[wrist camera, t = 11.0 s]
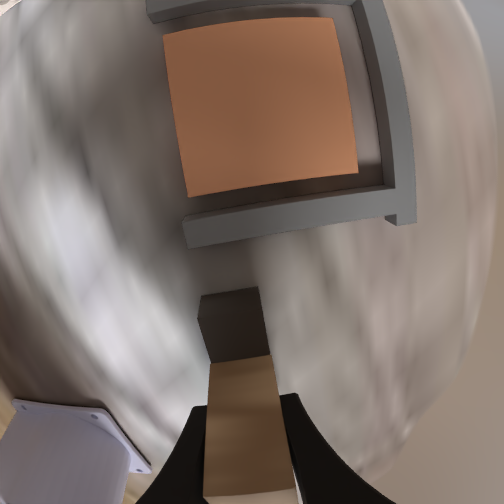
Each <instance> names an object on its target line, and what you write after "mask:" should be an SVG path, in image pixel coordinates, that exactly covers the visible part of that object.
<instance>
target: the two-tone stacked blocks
mask: <svg viewBox="0 0 504 504" xmlns="http://www.w3.org/2000/svg"><path fill="white" fill-rule="evenodd" d="M197 319H198V323H199V326H200V329H201V332H202V336H203V339H204V342H205V345H206V348H207V351H208V355H209V358H210V361H211V364H210V374H209V388H208V403H207V420H206V437H205V458H204V482H203V497H204V498H205V500H206V501H207V502H208V503H209V504H299V503H298V497H297V490H296V484H295V479H294V473H293V468H292V462H291V457H290V452H289V446H288V441H287V436H286V430H285V425H284V420H283V416H282V409H281V404H280V398H279V393H278V388H277V382H276V377H275V371H274V366H273V361H272V355H270V351H269V345H268V340H267V334H266V328H265V322H264V317H263V311H262V305H261V300H260V294H259V289H258V286H257V287H252V288H246V289H240V290H234V291H228V292H222V293H216V294H210V295H204V296H201V301H200V306H199V312H198V317H197Z"/></svg>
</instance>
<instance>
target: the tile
mask: <svg viewBox="0 0 504 504" xmlns="http://www.w3.org/2000/svg"><path fill="white" fill-rule="evenodd" d="M163 43H164V51H165V59H166V67H167V74H168V82H169V89H170V95H171V102H172V108H173V115H174V121H175V127H176V133H177V139H178V145H179V150H180V156H181V162H182V167H183V172H184V178H185V183H186V188H187V193H188V198H189V197H194V196H200V195H205V194H210V193H216V192H222V191H227V190H233V189H239V188H245V187H252V186H258V185H264V184H271V183H278V182H285V181H292V180H300V179H307V178H315V177H324V176H332V175H341V174H351V173H358V162H357V152H356V143H355V135H354V127H353V120H352V113H351V106H350V100H349V94H348V88H347V82H346V77H345V71H344V66H343V61H342V57H341V52H340V47H339V43H338V38H337V34H336V30H335V26H334V22H333V18H321V17H288V18H267V19H254V20H244V21H235V22H228V23H221V24H214V25H208V26H202V27H197V28H192V29H187V30H182V31H178V32H174V33H169V34H165V35H163Z"/></svg>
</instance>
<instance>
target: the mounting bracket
mask: <svg viewBox="0 0 504 504" xmlns="http://www.w3.org/2000/svg"><path fill="white" fill-rule="evenodd" d="M19 1H21V0H0V16H1V15H2V14H4V13H5V12H6V11H7V10H9V9H10V8H11V7H13V6H14V5H15V4H17V3H18V2H19Z"/></svg>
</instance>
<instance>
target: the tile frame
mask: <svg viewBox="0 0 504 504" xmlns="http://www.w3.org/2000/svg"><path fill="white" fill-rule="evenodd" d="M284 3H322V4H340V5H352V9H353V12H354V15H355V19H356V22H357V26H358V30H359V33H360V37H361V41H362V45H363V49H364V54H365V58H366V62H367V67H368V72H369V77H370V82H371V87H372V93H373V98H374V104H375V111H376V117H377V124H378V132H379V140H380V149H381V158H382V169H383V182H384V185H378V186H370V187H362V188H354V189H346V190H339V191H331V192H324V193H317V194H310V195H303V196H297V197H290V198H284V199H278V200H271V201H265V202H259V203H253V204H248V205H242V206H236V207H231V208H225V209H220V210H214V211H209V212H204V213H198V214H193V215H188V216H185V218H184V219H183V221H182V227H183V231H184V235H185V239H186V244H187V248H188V249H192V248H197V247H203V246H208V245H214V244H220V243H225V242H231V241H237V240H242V239H248V238H254V237H259V236H265V235H271V234H277V233H283V232H288V231H294V230H300V229H306V228H312V227H318V226H324V225H330V224H336V223H342V222H349V221H355V220H361V219H367V218H373V217H380V216H385V220H387V221H388V222H390V223H392V224H394V225H396V226H400V225H406V224H412V223H417V207H416V177H415V162H414V150H413V139H412V131H411V123H410V115H409V108H408V102H407V96H406V90H405V85H404V80H403V75H402V70H401V65H400V61H399V56H398V52H397V48H396V44H395V40H394V37H393V33H392V29H391V26H390V22H389V19H388V16H387V13H386V10H385V6H384V3H383V0H146V10H147V15H148V17H149V18H150V20H151V21H152V23H153V24H155V23H159V22H162V21H166V20H170V19H174V18H179V17H183V16H187V15H192V14H197V13H202V12H208V11H214V10H220V9H227V8H234V7H243V6H252V5H265V4H284Z"/></svg>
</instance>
